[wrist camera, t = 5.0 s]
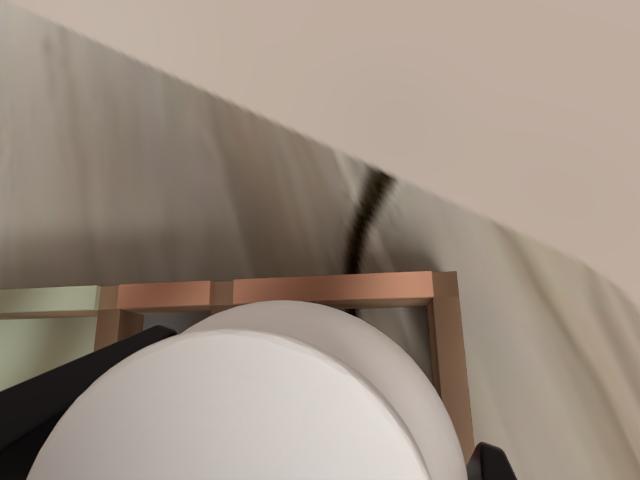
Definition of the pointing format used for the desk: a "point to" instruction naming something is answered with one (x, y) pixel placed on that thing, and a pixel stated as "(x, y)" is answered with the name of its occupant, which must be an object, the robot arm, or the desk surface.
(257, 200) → the desk surface
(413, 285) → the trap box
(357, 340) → the pill bottle
